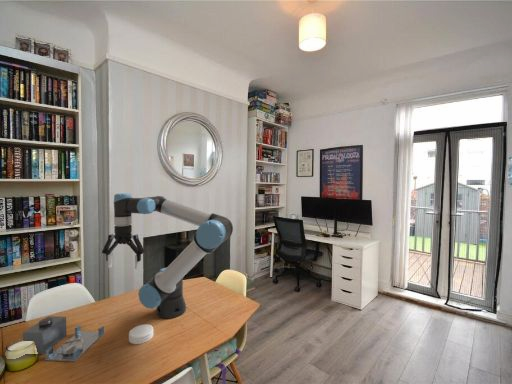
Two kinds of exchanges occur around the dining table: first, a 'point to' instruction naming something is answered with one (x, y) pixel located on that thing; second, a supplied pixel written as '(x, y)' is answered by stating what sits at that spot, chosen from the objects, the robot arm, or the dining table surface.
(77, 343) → the stone
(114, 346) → the dining table surface
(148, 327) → the coaster
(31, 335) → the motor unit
